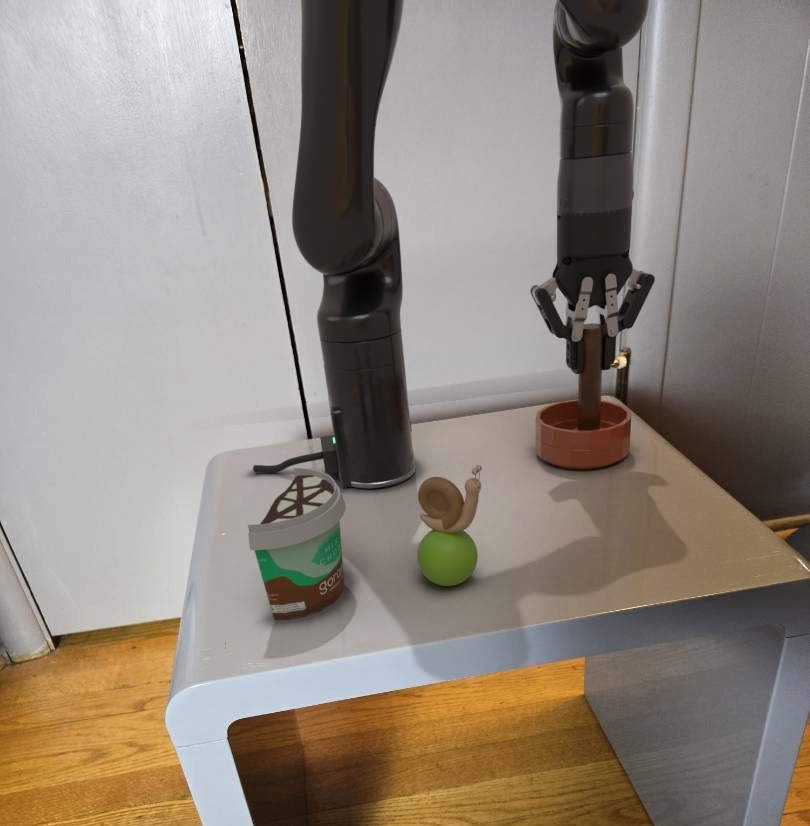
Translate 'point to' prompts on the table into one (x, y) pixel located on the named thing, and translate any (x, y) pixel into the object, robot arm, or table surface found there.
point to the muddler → (590, 378)
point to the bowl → (582, 436)
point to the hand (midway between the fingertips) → (590, 369)
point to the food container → (301, 546)
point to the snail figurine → (448, 530)
